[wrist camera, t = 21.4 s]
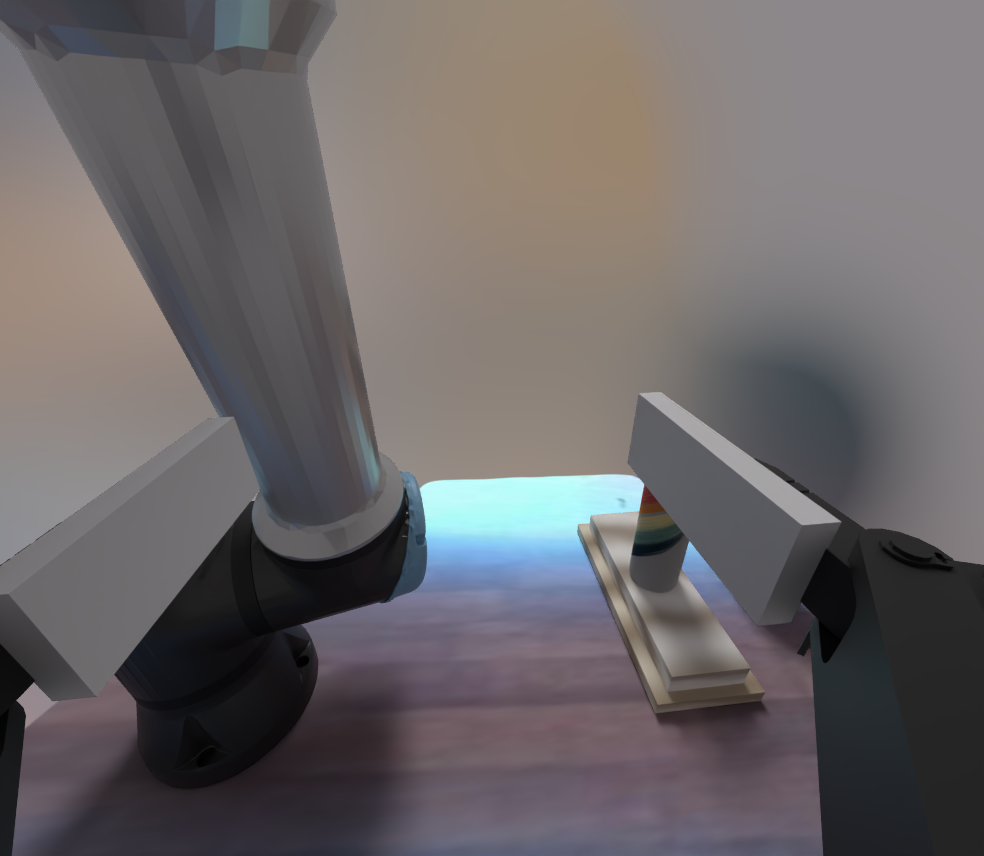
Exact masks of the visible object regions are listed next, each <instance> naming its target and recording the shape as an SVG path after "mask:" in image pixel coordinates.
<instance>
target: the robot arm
mask: <svg viewBox="0 0 984 856" xmlns="http://www.w3.org/2000/svg"><path fill="white" fill-rule="evenodd" d="M336 16H337V13H336V4H335V0H0V32H1V33H2V34H3V35H4V36H5V37H6V38H7V39H9V40H10V41H11V42H12V43H13V44H14V45H15V46H16V47H17V48H18V49H19V51H20V53H21V55H22V57H23V58H24V60H25V62H26V64H27V66H28V67H29V69H30V71H31V73H32V75H33V77H34V78H35V80H36V82H37V84H38V86H39V88H40V89H41V91H42V93H43V95H44V97H45V99H46V100H47V102H48V104H49V106H50V108H51V110H52V111H53V113H54V115H55V117H56V119H57V120H58V122H59V124H60V126H61V128H62V129H63V132H64V133H65V135H66V137H67V139H68V141H69V143H70V144H71V146H72V148H73V150H74V151H75V153H76V155H77V157H78V159H79V161H80V163H81V164H82V166H83V168H84V170H85V172H86V173H87V175H88V177H89V179H90V181H91V183H92V184H93V186H94V188H95V190H96V192H97V193H98V195H99V197H100V199H101V201H102V203H103V205H104V207H105V208H106V210H107V212H108V214H109V216H110V218H111V219H112V221H113V223H114V225H115V227H116V228H117V230H118V232H119V234H120V236H121V238H122V239H123V241H124V243H125V245H126V247H127V249H128V250H129V252H130V254H131V256H132V258H133V259H134V261H135V263H136V265H137V267H138V269H139V271H140V272H141V274H142V276H143V278H144V280H145V282H146V283H147V285H148V287H149V288H150V291H151V292H152V294H153V296H154V298H155V300H156V301H157V304H158V305H159V307H160V309H161V311H162V313H163V315H164V316H165V318H166V320H167V322H168V324H169V325H170V327H171V329H172V331H173V333H174V335H175V336H176V338H177V340H178V342H179V344H180V346H181V347H182V349H183V351H184V353H185V355H186V357H187V358H188V360H189V362H190V364H191V366H192V367H193V369H194V371H195V373H196V375H197V377H198V379H199V380H200V382H201V384H202V386H203V388H204V390H205V391H206V393H207V395H208V397H209V399H210V401H211V402H212V404H213V406H214V408H215V410H216V412H217V413H218V415H219V417H220V418H208V419H207V420H205V421H204V422H202V423H201V424H199V425H198V426H197V427H195V428H194V429H193V430H191V431H190V432H188V433H187V434H185V435H184V436H182V437H181V438H180V439H178V440H177V441H175V442H174V443H173V444H172V445H170V446H168V447H167V448H166V449H164V450H163V451H161V452H160V453H159V454H157V455H156V456H154V457H153V458H151V459H150V460H149V461H147V462H146V463H145V464H143V465H142V466H140V467H139V468H137V469H136V470H135V471H133V472H132V473H130V474H129V475H128V476H126V477H125V478H123V479H122V480H121V481H119V482H118V483H116V484H115V485H114V486H112V487H111V488H109V489H108V490H106V491H105V492H104V493H102V494H101V495H99V496H98V497H97V498H95V499H94V500H92V501H91V502H90V503H88V504H87V505H85V506H84V507H83V508H81V509H80V510H78V511H77V512H75V513H74V514H73V515H71V516H70V517H68V518H67V519H66V520H64V521H63V522H61V523H59V524H58V525H56V526H55V527H54V528H52V529H51V530H49V531H48V532H46V533H45V534H44V535H42V536H41V537H40V538H38V539H37V540H36V541H35V542H33V543H32V544H30V545H28V546H27V547H25V548H24V549H22V550H21V551H20V552H18V553H17V554H15V556H14V557H12V558H11V559H8V560H7V561H6V562H4V563H3V564H1V565H0V856H12V847H13V838H14V828H15V818H16V808H17V798H18V788H19V778H20V768H21V759H22V749H23V739H24V729H25V719H26V714H25V711H24V708H23V707H22V706H21V705H20V704H19V703H18V702H17V701H16V700H17V699H18V698H19V697H20V696H21V695H22V694H23V693H24V692H25V691H26V690H27V689H28V688H29V687H30V686H31V685H32V684H33V682H34V683H35V684H36V685H37V686H38V687H39V688H40V689H41V690H42V691H43V692H44V693H45V694H46V695H47V696H48V697H49V698H50V699H51V700H52V701H60V700H70V699H79V698H88V697H97V695H98V694H99V693H100V692H101V690H102V689H103V688H104V687H105V685H106V684H107V683H108V681H109V680H110V679H111V678H112V676H113V675H115V676H116V677H117V679H118V680H119V681H120V682H121V683H122V685H123V686H124V687H125V688H126V689H127V691H128V692H129V693H130V694H131V695H132V696H133V698H134V699H135V700H136V706H137V730H138V746H139V751H140V754H141V756H142V759H143V761H144V763H145V764H146V766H147V767H148V768H149V769H150V770H151V771H152V772H153V774H154V775H155V776H156V777H157V778H158V779H159V780H160V781H162V782H163V783H165V784H167V785H169V786H173V787H176V788H198V787H204V786H208V785H212V784H215V783H218V782H220V781H223V780H225V779H227V778H230V777H232V776H234V775H235V774H237V773H239V772H241V771H243V770H244V769H246V768H247V767H249V766H250V765H252V764H253V763H255V762H256V761H257V760H259V759H260V758H261V757H263V756H264V755H265V754H266V753H267V752H269V751H270V750H271V749H272V748H273V747H274V746H275V745H276V744H277V743H278V742H279V741H280V740H281V739H282V738H283V737H284V736H285V735H286V734H287V732H288V731H289V730H290V729H291V728H292V726H293V725H294V724H295V722H296V721H297V719H298V718H299V717H300V715H301V713H302V712H303V710H304V708H305V707H306V705H307V703H308V701H309V699H310V697H311V694H312V692H313V689H314V686H315V683H316V678H317V673H318V658H317V653H316V650H315V647H314V644H313V642H312V639H311V637H310V635H309V633H308V632H307V631H306V629H305V628H304V627H303V626H302V625H301V624H304V623H308V622H311V621H315V620H318V619H322V618H325V617H329V616H332V615H336V614H339V613H343V612H346V611H350V610H353V609H357V608H361V607H364V606H368V605H371V604H375V603H378V602H380V603H386V602H390V601H391V600H393V599H394V598H395V597H397V596H400V595H403V594H406V593H409V592H412V591H414V590H415V589H417V588H418V587H419V586H420V584H421V583H422V581H423V579H424V576H425V572H426V565H427V542H426V538H425V532H426V525H425V516H424V509H423V503H422V498H421V494H420V490H419V486H418V483H417V481H416V479H415V477H414V476H413V475H412V474H411V473H409V472H401V471H399V470H398V468H397V466H396V465H395V463H394V462H393V461H392V460H391V459H390V458H388V457H387V456H386V455H384V454H382V453H381V452H379V451H378V446H377V441H376V436H375V431H374V426H373V420H372V415H371V410H370V405H369V400H368V395H367V389H366V384H365V379H364V374H363V369H362V363H361V358H360V353H359V348H358V343H357V338H356V333H355V328H354V322H353V317H352V312H351V307H350V302H349V297H348V291H347V286H346V281H345V276H344V271H343V265H342V260H341V255H340V250H339V245H338V240H337V234H336V229H335V224H334V219H333V214H332V208H331V203H330V197H329V193H328V187H327V182H326V177H325V172H324V166H323V161H322V156H321V151H320V145H319V140H318V135H317V130H316V125H315V119H314V114H313V109H312V104H311V98H310V93H309V88H308V84H307V74H308V63H309V61H310V60H311V58H312V56H313V55H314V53H315V51H316V50H317V48H318V46H319V44H320V43H321V41H322V39H323V38H324V36H325V34H326V32H327V31H328V29H329V27H330V26H331V24H332V22H333V20H334V19H335V17H336ZM628 464H629V465H630V467H631V468H632V469H633V470H634V472H635V473H636V474H637V475H638V477H639V478H640V479H641V480H642V482H643V483H644V484H645V485H646V487H647V488H648V489H649V491H650V492H651V493H652V494H653V496H654V497H655V498H656V499H657V501H658V502H659V503H660V504H661V506H662V507H663V508H664V509H665V511H666V512H667V513H668V514H669V516H670V517H671V518H672V519H673V521H674V522H675V523H676V525H677V526H678V527H679V528H680V530H681V531H682V532H683V533H684V535H685V536H686V537H687V538H688V540H689V541H690V542H691V543H692V545H693V546H694V547H695V548H696V550H697V551H698V552H699V553H700V555H701V556H702V557H703V558H704V560H705V561H706V562H707V564H708V565H709V566H710V567H711V569H712V570H713V571H714V572H715V574H716V575H717V576H718V577H719V579H720V580H721V581H722V582H723V584H724V585H725V586H726V587H727V589H728V590H729V591H730V592H731V594H732V595H733V596H734V598H735V599H736V600H737V601H738V603H739V604H740V605H741V606H742V608H743V609H744V610H745V611H746V613H747V614H748V615H749V616H750V618H751V619H752V620H753V621H754V623H755V624H756V625H757V626H765V625H774V624H784V623H791V622H792V620H793V618H794V616H795V614H796V612H797V610H798V608H799V606H800V604H801V602H802V603H803V604H804V605H805V606H806V607H807V608H808V609H809V611H810V612H811V613H812V614H813V615H814V616H815V618H814V620H813V622H812V624H811V625H810V627H809V629H808V631H807V633H806V635H805V637H804V638H803V640H802V642H801V644H800V646H799V649H798V652H797V654H800V655H802V656H804V655H805V653H806V651H807V649H808V648H811V658H812V675H813V692H814V708H815V725H816V741H817V758H818V774H819V791H820V807H821V824H822V841H823V856H984V565H980V564H973V563H966V562H959V561H954V560H953V559H952V558H951V557H949V556H948V555H946V554H945V553H944V552H942V551H941V550H939V549H938V548H936V547H934V546H932V545H930V544H928V543H926V542H924V541H922V540H920V539H918V538H915V537H912V536H909V535H906V534H903V533H901V532H896V531H891V530H886V529H867V530H865V529H864V528H863V527H861V526H860V525H859V524H857V523H856V522H854V521H853V520H851V519H850V518H849V517H847V516H846V515H844V514H843V513H841V512H840V511H838V510H837V509H836V508H834V507H833V506H831V505H830V504H828V503H827V502H825V501H824V500H823V499H821V498H820V497H818V496H817V495H815V494H814V493H809V490H808V489H807V488H805V487H804V486H802V485H801V484H799V483H795V481H794V479H792V478H791V477H789V476H788V475H786V474H785V473H784V472H782V471H781V470H779V469H778V468H776V467H773V466H771V465H769V464H767V463H764V462H762V461H760V460H758V459H755V458H754V459H753V458H752V457H750V456H749V455H748V454H746V453H745V452H743V451H742V450H740V449H739V448H738V447H736V446H735V445H734V444H732V443H731V442H729V441H728V440H727V439H725V438H724V437H722V436H721V435H720V434H718V433H717V432H715V431H714V430H713V429H711V428H710V427H708V426H707V425H706V424H704V423H703V422H701V421H700V420H699V419H697V418H696V417H694V416H693V415H692V414H690V413H689V412H688V411H686V410H685V409H683V408H682V407H681V406H679V405H678V404H676V403H675V402H674V401H672V400H671V399H669V398H668V397H667V396H665V395H664V394H662V393H661V392H654V393H639V395H638V401H637V407H636V413H635V420H634V426H633V432H632V438H631V445H630V451H629V457H628ZM259 490H260V491H259ZM258 491H259V493H258ZM257 493H258V495H257V497H256V499H255V501H251V500H252V499H253V498H254V496H255V495H256V494H257ZM250 501H251V502H250Z"/></svg>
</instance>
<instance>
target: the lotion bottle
mask: <svg viewBox="0 0 984 856" xmlns="http://www.w3.org/2000/svg"><path fill="white" fill-rule="evenodd" d="M688 543H689V540H688V538H687V537H686V536H685V535H684V533H683V532H682V531H681V530H680V528H679V527H678V526H677V525H676V523H675V522H674V521H673V519H672V518H671V517H670V516H669V514H668V513H667V512H666V511H665V509H664V508H663V507H662V506H661V504H660V503H659V502H658V501H657V499H656V498H655V497H654V496H653V494H652V493H651V492H650V491H649V489H648V488H647V487H646V485H645V484H644V489H643V495H642V500H641V505H640V511H639V516H638V521H637V526H636V532H635V537H634V542H633V547H632V553H631V558H630V565H629V570H630V574H631V576H632V578H633V579H634V581H635V582H636V583H637V584H638V585H640V586H641V587H643V588H645V589H647V590H649V591H652V592H658V593H663V592H668V591H670V590H672V589H673V588H674V587H675V586H676V584H677V581H678V578H679V575H680V571H681V568H682V564H683V561H684V557H685V553H686V550H687V546H688Z"/></svg>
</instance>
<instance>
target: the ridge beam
mask: <svg viewBox="0 0 984 856" xmlns="http://www.w3.org/2000/svg"><path fill="white" fill-rule="evenodd" d="M638 516H639V512H627V513H615V514H602V515H591V518H590V524H578V530H577V532H578V534H579V537H580V539H581V541H582V544H583V546H584V548H585V551H586V553H587V555H588V558H589V560H590V562H591V565H592V567H593V569H594V572H595V574H596V576H597V579H598V581H599V583H600V586H601V588H602V590H603V593H604V595H605V597H606V600H607V602H608V605H609V607H610V609H611V612H612V614H613V616H614V619H615V621H616V623H617V626H618V628H619V630H620V633H621V635H622V637H623V640H624V642H625V644H626V647H627V649H628V651H629V654H630V656H631V658H632V661H633V663H634V665H635V668H636V670H637V672H638V675H639V677H640V679H641V682H642V684H643V686H644V689H645V691H646V693H647V696H648V698H649V700H650V703H651V705H652V707H653V710H654V712H655V713H663V712H671V711H680V710H688V709H696V708H705V707H713V706H721V705H730V704H738V703H746V702H755V701H761V699H762V697H763V695H764V693H765V691H764V690H763V688H762V687H761V686H760V684H759V683H758V681H757V680H756V678H755V677H754V675H753V674H752V673H751V671H750V666H749V665H748V663H747V662H746V661H745V659H744V658H743V656H742V655H741V653H740V652H739V651H738V649H737V648H736V646H735V645H734V643H733V642H732V641H731V639H730V638H729V636H728V635H727V633H726V632H725V631H724V629H723V628H722V626H721V625H720V623H719V622H718V621H717V619H716V618H715V616H714V615H713V613H712V612H711V611H710V609H709V608H708V606H707V605H706V603H705V602H704V601H703V599H702V598H701V596H700V595H699V593H698V592H697V591H696V589H695V588H694V586H693V585H692V583H691V582H690V581H689V579H688V578H687V576H686V575H685V573H684V572H683V571H682V569H681V571H680V575H679V578H678V581H677V584H676V586H675V587H674V588H673V589H672V590H670V591H668V592H663V593H658V592H652V591H649V590H647V589H645V588H643V587H641V586H640V585H638V584H637V583H636V582H635V581H634V579H633V578H632V576H631V574H630V570H629V565H630V558H631V553H632V547H633V542H634V537H635V532H636V526H637V521H638Z"/></svg>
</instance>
